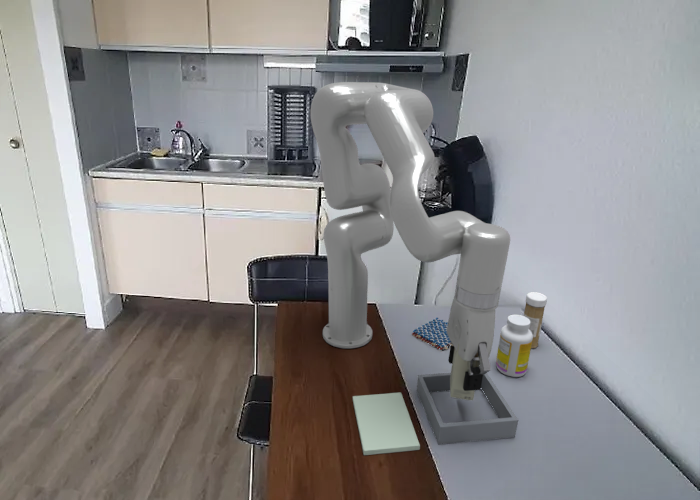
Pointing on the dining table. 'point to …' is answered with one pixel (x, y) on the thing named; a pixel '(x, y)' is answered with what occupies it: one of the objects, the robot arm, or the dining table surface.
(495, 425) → the bin
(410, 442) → the pad
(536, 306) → the sprinkles bottle
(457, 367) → the skincare box
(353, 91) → the robot arm
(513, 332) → the supplement bottle
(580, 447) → the dining table surface
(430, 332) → the woven mat
